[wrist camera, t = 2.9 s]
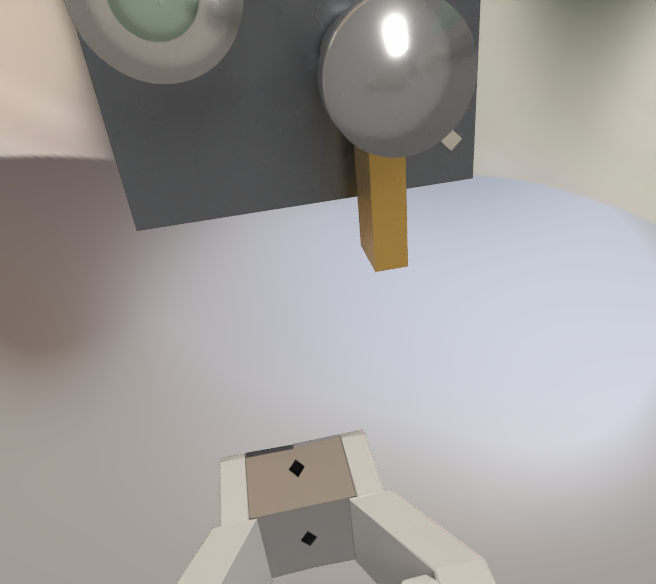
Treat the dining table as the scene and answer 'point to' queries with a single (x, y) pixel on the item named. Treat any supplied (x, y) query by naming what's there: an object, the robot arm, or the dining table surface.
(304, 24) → the base
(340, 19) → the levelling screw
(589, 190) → the dining table surface
